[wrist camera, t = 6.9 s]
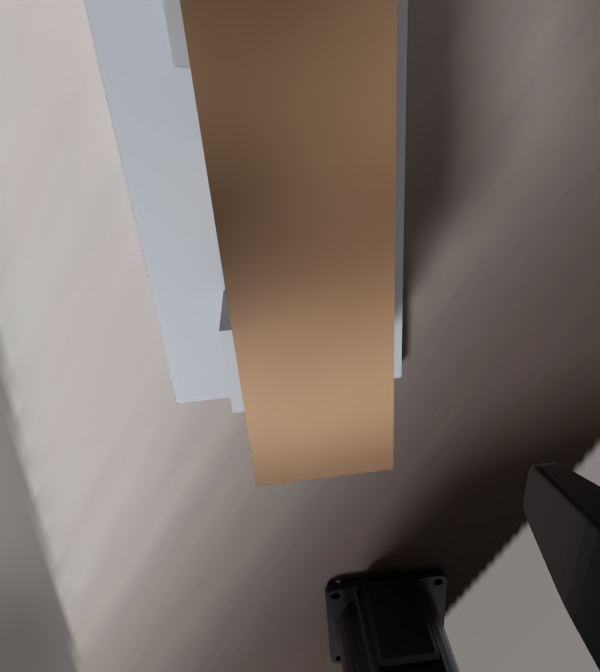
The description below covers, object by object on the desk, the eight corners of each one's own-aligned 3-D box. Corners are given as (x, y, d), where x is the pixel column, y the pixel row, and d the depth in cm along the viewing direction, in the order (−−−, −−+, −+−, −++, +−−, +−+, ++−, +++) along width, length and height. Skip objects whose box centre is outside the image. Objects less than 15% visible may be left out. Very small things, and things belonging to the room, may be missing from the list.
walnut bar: (361, 384, 16) (393, 469, 13) (254, 397, 16) (256, 486, 13) (349, -82, 11) (398, -160, 7) (186, -70, 11) (156, -143, 7)
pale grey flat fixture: (395, 367, 21) (426, 426, 17) (179, 392, 21) (165, 457, 17) (402, -140, 14) (457, -217, 10) (64, -117, 13) (-3, -188, 10)
